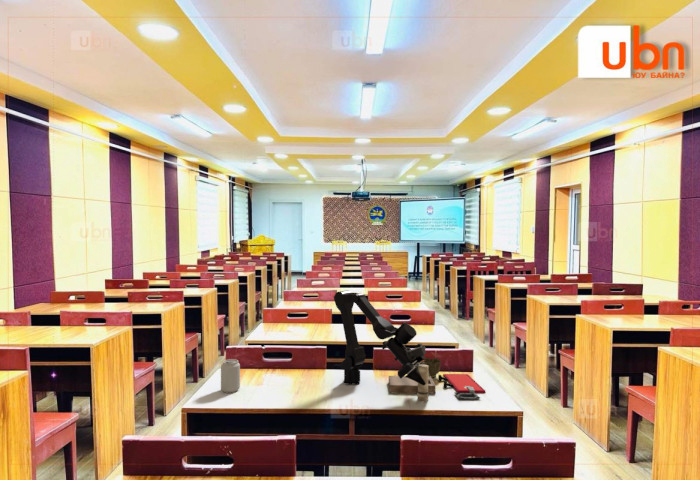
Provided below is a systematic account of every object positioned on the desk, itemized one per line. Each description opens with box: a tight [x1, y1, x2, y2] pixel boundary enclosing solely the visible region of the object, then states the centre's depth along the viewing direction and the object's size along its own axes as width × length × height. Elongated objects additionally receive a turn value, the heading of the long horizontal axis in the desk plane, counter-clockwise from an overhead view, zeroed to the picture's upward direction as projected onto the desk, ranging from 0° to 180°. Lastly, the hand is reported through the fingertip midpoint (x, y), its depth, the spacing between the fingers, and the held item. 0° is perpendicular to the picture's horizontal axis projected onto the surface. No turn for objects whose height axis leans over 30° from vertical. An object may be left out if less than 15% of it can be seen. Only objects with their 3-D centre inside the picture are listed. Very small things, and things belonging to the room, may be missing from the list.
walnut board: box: [388, 375, 436, 394], centre depth 184 cm, size 18×12×3 cm, turn 89°
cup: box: [423, 357, 442, 379], centre depth 197 cm, size 8×7×8 cm
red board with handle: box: [437, 373, 486, 399], centre depth 185 cm, size 30×3×15 cm
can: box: [220, 358, 241, 394], centre depth 179 cm, size 8×8×12 cm
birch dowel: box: [417, 363, 430, 402], centre depth 170 cm, size 4×4×13 cm
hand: (426, 383), depth 170 cm, fingers closed on birch dowel, 4 cm apart
